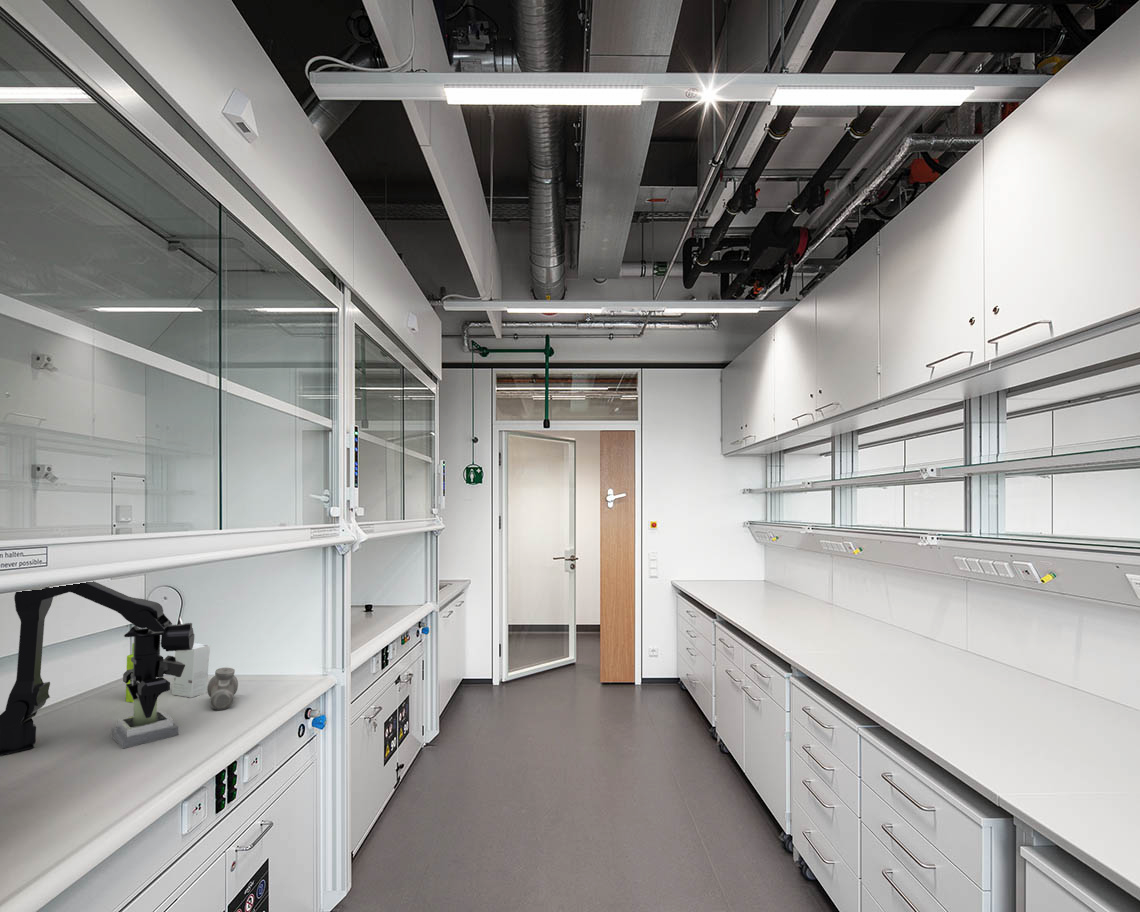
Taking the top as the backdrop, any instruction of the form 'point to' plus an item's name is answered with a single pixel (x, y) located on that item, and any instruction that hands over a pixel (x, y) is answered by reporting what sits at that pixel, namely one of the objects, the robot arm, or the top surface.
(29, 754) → the top surface
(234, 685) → the pipe fitting
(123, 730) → the grey square holder
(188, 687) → the skincare box
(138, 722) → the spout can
